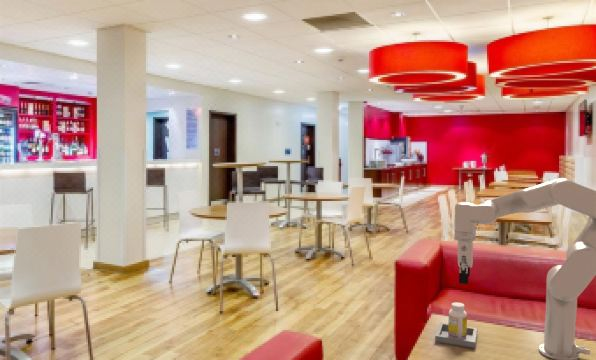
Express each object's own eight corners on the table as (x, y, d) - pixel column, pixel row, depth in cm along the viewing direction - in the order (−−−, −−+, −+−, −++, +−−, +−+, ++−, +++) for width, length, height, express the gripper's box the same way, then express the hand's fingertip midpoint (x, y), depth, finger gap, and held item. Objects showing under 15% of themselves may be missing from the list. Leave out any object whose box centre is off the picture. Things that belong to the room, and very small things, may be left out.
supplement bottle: (464, 333, 187) (465, 301, 185) (468, 341, 180) (469, 307, 179) (446, 333, 187) (447, 301, 186) (450, 340, 181) (451, 307, 179)
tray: (477, 334, 187) (477, 328, 187) (474, 348, 175) (475, 342, 174) (439, 328, 193) (440, 322, 193) (435, 342, 180) (435, 335, 180)
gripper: (474, 240, 171) (473, 287, 173) (476, 231, 187) (475, 274, 189) (452, 239, 174) (452, 285, 176) (456, 230, 190) (455, 273, 192)
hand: (464, 280), depth 182 cm, fingers open, 9 cm apart
